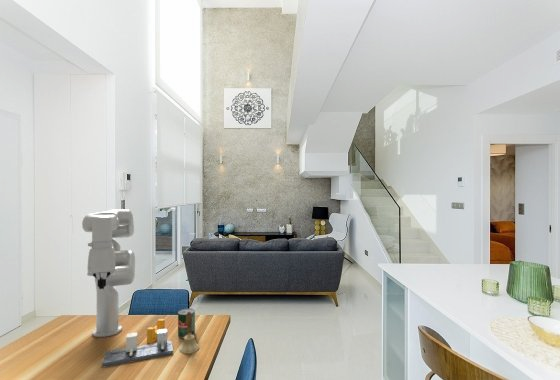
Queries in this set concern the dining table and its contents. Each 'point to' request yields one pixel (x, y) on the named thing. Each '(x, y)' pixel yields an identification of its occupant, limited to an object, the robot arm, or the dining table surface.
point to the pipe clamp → (155, 331)
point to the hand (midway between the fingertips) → (101, 288)
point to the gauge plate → (140, 351)
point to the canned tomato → (182, 322)
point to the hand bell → (189, 338)
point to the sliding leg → (131, 342)
